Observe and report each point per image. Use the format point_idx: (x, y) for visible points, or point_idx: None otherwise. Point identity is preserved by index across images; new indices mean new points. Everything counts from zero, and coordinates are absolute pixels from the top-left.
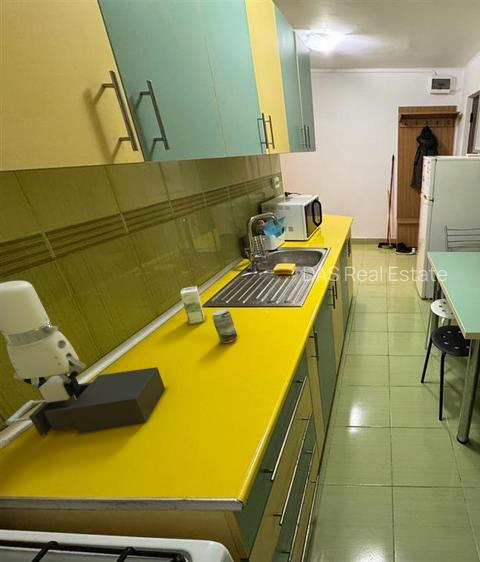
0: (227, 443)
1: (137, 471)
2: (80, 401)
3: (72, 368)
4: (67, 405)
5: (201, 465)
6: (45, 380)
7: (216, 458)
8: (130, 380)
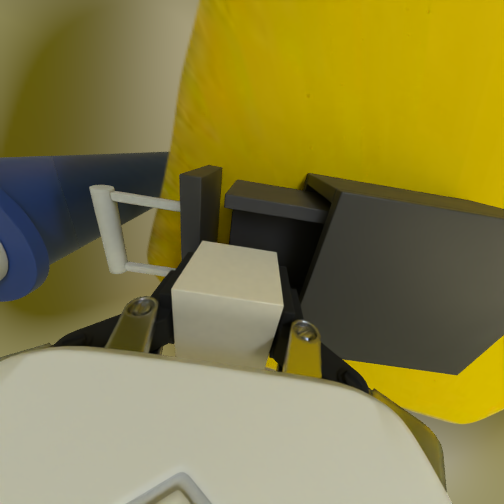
0: (498, 382)
1: (376, 377)
2: None
3: (320, 377)
4: (216, 207)
5: (450, 394)
6: (165, 322)
7: (471, 393)
8: (468, 294)
